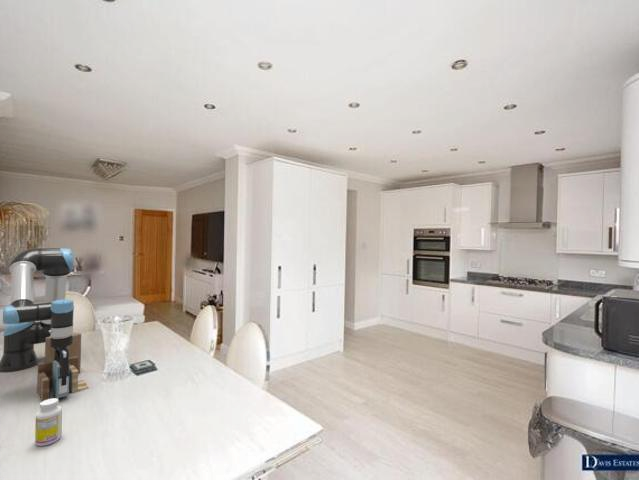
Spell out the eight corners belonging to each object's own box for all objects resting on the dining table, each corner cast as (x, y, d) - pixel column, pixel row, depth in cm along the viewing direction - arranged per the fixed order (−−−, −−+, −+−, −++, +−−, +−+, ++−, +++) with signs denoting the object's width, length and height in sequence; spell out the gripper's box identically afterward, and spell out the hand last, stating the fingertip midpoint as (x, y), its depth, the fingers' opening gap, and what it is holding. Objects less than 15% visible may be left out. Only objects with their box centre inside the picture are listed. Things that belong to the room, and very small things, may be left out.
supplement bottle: (45, 434, 107) (46, 396, 107) (66, 434, 107) (67, 396, 107) (29, 447, 100) (30, 406, 100) (51, 446, 100) (52, 406, 101)
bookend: (66, 386, 143) (67, 366, 143) (83, 381, 148) (83, 362, 148) (72, 392, 137) (72, 372, 137) (88, 388, 141) (89, 368, 141)
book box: (52, 390, 135) (52, 360, 136) (63, 387, 138) (64, 358, 139) (56, 398, 129) (57, 366, 129) (68, 395, 132) (69, 364, 132)
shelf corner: (37, 392, 137) (37, 364, 137) (76, 381, 147) (77, 356, 148) (42, 403, 127) (43, 374, 127) (84, 391, 138) (85, 364, 138)
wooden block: (60, 381, 148) (61, 338, 148) (43, 379, 150) (44, 337, 150) (80, 373, 158) (81, 333, 158) (64, 371, 160) (65, 331, 160)
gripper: (45, 333, 139) (44, 383, 138) (55, 344, 124) (54, 400, 123) (67, 329, 144) (65, 378, 144) (79, 339, 129) (77, 394, 129)
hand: (60, 388), depth 134 cm, fingers closed on book box, 10 cm apart
